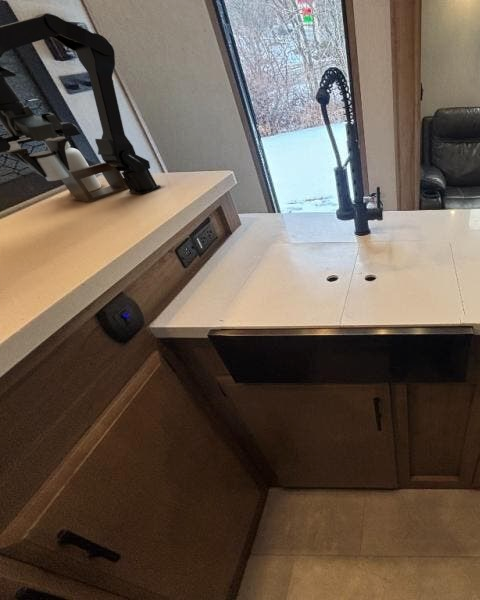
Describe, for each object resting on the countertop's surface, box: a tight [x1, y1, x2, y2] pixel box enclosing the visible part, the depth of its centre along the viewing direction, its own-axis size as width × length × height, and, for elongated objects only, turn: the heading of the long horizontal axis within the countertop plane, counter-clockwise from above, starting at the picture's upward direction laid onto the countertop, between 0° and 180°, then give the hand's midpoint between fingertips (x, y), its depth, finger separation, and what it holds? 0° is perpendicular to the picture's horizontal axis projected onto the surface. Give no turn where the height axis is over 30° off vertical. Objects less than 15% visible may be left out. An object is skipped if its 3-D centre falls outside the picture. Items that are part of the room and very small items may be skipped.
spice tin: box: [29, 149, 71, 182], centre depth 81 cm, size 5×5×6 cm
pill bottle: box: [43, 141, 102, 193], centre depth 101 cm, size 8×8×15 cm
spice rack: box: [61, 161, 129, 203], centre depth 99 cm, size 8×12×9 cm, turn 157°
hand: (56, 173), depth 82 cm, fingers closed on spice tin, 5 cm apart
